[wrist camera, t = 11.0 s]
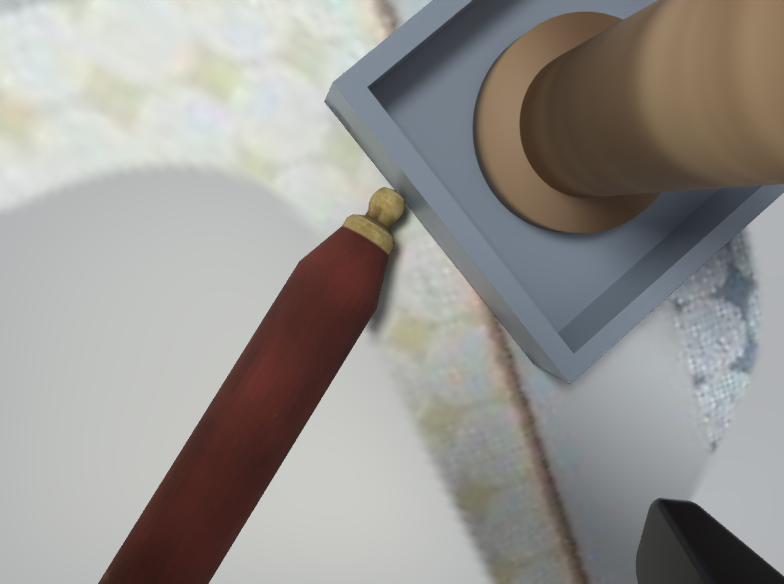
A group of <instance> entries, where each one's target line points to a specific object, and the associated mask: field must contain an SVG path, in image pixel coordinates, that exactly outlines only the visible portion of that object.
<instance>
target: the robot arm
mask: <svg viewBox="0 0 784 584" xmlns="http://www.w3.org/2000/svg"><path fill="white" fill-rule="evenodd" d="M636 574H637V581H638V584H784V576H783V575H782V574H780V573H779V572H778V571H777V570H776V569H774V568H773V567H772V566H771V565H770V564H768V563H767V562H766V561H765V560H763V559H762V558H761V557H760V556H759V555H758V554H756V553H755V552H754V551H753V550H752V549H750V548H749V547H748V546H747V545H746V544H744V543H743V542H742V541H741V540H739V539H738V538H737V537H736V536H735V535H733V534H732V533H731V532H730V531H729V530H727V529H726V528H725V527H724V526H723V525H722V524H720V523H719V522H718V521H717V520H715V519H714V518H713V517H712V516H711V515H710V514H708V513H707V512H706V511H705V510H704V509H702V508H701V507H700V506H698V505H697V504H695V503H693V502H691V501H685V500H674V499H664V498H659V499H656V500H654V501H653V502H652V504H651V506H650V508H649V511H648V514H647V518H646V522H645V525H644V529H643V533H642V536H641V540H640V544H639V547H638V551H637V556H636Z"/></svg>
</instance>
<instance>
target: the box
mask: <svg viewBox="0 0 784 584" xmlns="http://www.w3.org/2000/svg"><path fill="white" fill-rule="evenodd" d="M656 1H657V0H433V1H431V2H430V3H429V4H428V5H426V6H425V7H424V8H423V9H422V10H420V11H419V12H418V13H417V14H415V15H414V16H413V17H412V18H411V19H409V20H408V21H407V22H406V23H405V24H403V25H402V26H401V27H400V28H398V29H397V30H396V31H395V32H394V33H392V34H391V35H390V36H389V37H387V38H386V39H385V40H384V41H383V42H381V43H380V44H379V45H378V46H377V47H375V48H374V49H373V50H372V51H370V52H369V53H368V54H367V55H366V56H364V57H363V58H362V59H361V60H360V61H358V62H357V63H356V64H355V65H353V66H352V67H351V68H350V69H349V70H347V71H346V72H345V73H344V74H342V75H341V76H340V77H339V78H338V79H336V80H335V81H334V82H333V83H332V85H331V88H330V90H329V92H328V94H327V97H326V99H325V103H326V104H327V105H328V106H329V108H330V109H331V110H332V112H333V113H334V114H335V115H336V117H337V118H338V119H339V120H340V122H341V123H342V124H343V125H344V127H345V128H346V129H347V130H348V132H349V133H350V134H351V135H352V137H353V138H354V139H355V140H356V142H357V143H358V144H359V145H360V147H361V148H362V149H363V150H364V152H365V153H366V154H367V155H368V157H369V158H370V159H371V160H372V162H373V163H374V164H375V165H376V167H377V168H378V169H379V171H380V172H381V173H382V174H383V176H384V177H385V178H386V179H387V181H388V182H389V183H390V184H391V186H392V187H393V188H394V189H395V191H397V192H398V193H399V194H400V195H401V197H402V198H403V199H404V200H405V203H406V204H407V206H408V207H409V208H410V209H411V211H412V212H413V213H414V214H415V216H416V217H417V218H418V219H419V221H420V222H421V223H422V224H423V226H424V227H425V228H426V230H427V231H428V232H429V233H430V235H431V236H432V237H433V238H434V240H435V241H436V242H437V243H438V245H439V246H440V247H441V248H442V250H443V251H444V252H445V253H446V255H447V256H448V257H449V258H450V260H451V261H452V262H453V263H454V265H455V266H456V267H457V268H458V270H459V271H460V272H461V273H462V275H463V276H464V277H465V278H466V280H467V281H468V282H469V284H470V285H471V286H472V287H473V289H474V290H475V291H476V292H477V294H478V295H479V296H480V297H481V299H482V300H483V301H484V302H485V304H486V305H487V306H488V307H489V309H490V310H491V311H492V312H493V314H494V315H495V316H496V317H497V319H498V320H499V321H500V322H501V324H502V325H503V326H504V327H505V329H506V330H507V331H508V332H509V334H510V335H511V336H512V337H513V339H514V340H515V341H516V343H517V344H518V345H519V346H520V348H521V349H522V350H523V351H524V353H525V354H526V355H527V356H528V358H529V359H530V360H531V361H532V363H533V364H535V365H537V366H539V367H540V368H542V369H544V370H546V371H548V372H549V373H551V374H553V375H555V376H557V377H558V378H560V379H562V380H564V381H566V382H567V383H569V384H571V383H572V382H573V381H574V380H575V379H576V378H577V377H578V376H580V375H581V374H582V373H583V372H584V371H585V370H586V369H587V368H589V367H590V366H591V365H592V364H593V363H594V362H595V361H596V360H597V359H599V358H600V357H601V356H602V355H603V354H604V353H605V352H606V351H607V350H609V349H610V348H611V347H612V346H613V345H614V344H615V343H616V342H618V341H619V340H620V339H621V338H622V337H623V336H624V335H625V334H626V333H628V332H629V331H630V330H631V329H632V328H633V327H634V326H635V325H636V324H638V323H639V322H640V321H641V320H642V319H643V318H644V317H645V316H647V315H648V314H649V313H650V312H651V311H652V310H653V309H654V308H655V307H657V306H658V305H659V304H660V303H661V302H662V301H663V300H664V299H665V298H667V297H668V296H669V295H670V294H671V293H672V292H673V291H674V290H675V289H677V288H678V287H679V286H680V285H681V284H682V283H683V282H684V281H686V280H687V279H688V278H689V277H690V276H691V275H692V274H693V273H694V272H696V271H697V270H698V269H699V268H700V267H701V266H702V265H703V264H704V263H706V262H707V261H708V260H709V259H710V258H711V257H712V256H713V255H715V254H716V253H717V252H718V251H719V250H720V249H721V248H722V247H723V246H725V245H726V244H727V243H728V242H729V241H730V240H731V239H732V238H733V237H735V236H736V235H737V234H738V233H739V232H740V231H741V230H742V229H744V228H745V227H746V226H747V225H748V224H749V223H750V222H751V221H752V220H754V219H755V218H756V217H757V216H758V215H759V214H760V213H761V212H762V211H763V210H765V209H766V208H767V207H768V206H769V205H770V204H771V203H773V202H774V200H776V199H777V198H778V197H779V196H780V195H781V194H783V193H784V184H777V185H762V186H748V187H733V188H719V189H704V190H689V191H675V192H661V193H660V195H659V196H658V197H657V198H656V199H655V201H654V202H653V203H652V204H651V205H650V206H649V207H647V208H646V209H645V210H644V211H643V212H642V213H640V214H639V215H638V216H636V217H635V218H633V219H632V220H630V221H628V222H626V223H624V224H622V225H620V226H617V227H615V228H612V229H609V230H605V231H601V232H595V233H565V232H554V231H549V230H544V229H541V228H538V227H535V226H533V225H530V224H528V223H527V222H525V221H523V220H521V219H519V218H518V217H517V216H515V215H514V214H512V213H511V212H510V211H509V210H508V209H507V208H506V207H505V206H503V205H502V204H501V203H500V201H499V200H498V199H497V198H496V196H495V195H494V194H493V193H492V191H491V190H490V188H489V186H488V185H487V183H486V181H485V179H484V177H483V175H482V173H481V170H480V168H479V165H478V161H477V158H476V155H475V149H474V143H473V113H474V108H475V103H476V98H477V95H478V92H479V89H480V86H481V84H482V82H483V80H484V78H485V76H486V74H487V72H488V70H489V69H490V67H491V66H492V64H493V63H494V61H495V60H496V59H497V58H498V57H499V55H500V54H501V53H502V52H503V51H504V50H505V49H506V48H507V47H508V46H509V45H511V44H512V43H513V42H514V41H515V40H517V39H518V38H519V37H521V36H522V35H524V34H525V33H526V32H528V31H529V30H531V29H532V28H534V27H535V26H537V25H538V24H540V23H542V22H544V21H546V20H548V19H550V18H553V17H556V16H559V15H562V14H566V13H572V12H598V13H605V14H608V15H612V16H615V17H618V18H620V19H623V20H624V19H626V18H627V17H629V16H631V15H633V14H634V13H636V12H638V11H640V10H642V9H643V8H645V7H647V6H649V5H650V4H652V3H654V2H656Z"/></svg>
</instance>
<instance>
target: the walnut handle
mask: <svg viewBox="0 0 784 584" xmlns="http://www.w3.org/2000/svg"><path fill="white" fill-rule="evenodd" d="M473 143H474V149H475V155H476V158H477V161H478V165H479V168H480V170H481V173H482V175H483V177H484V179H485V181H486V183H487V185H488V186H489V188H490V190H491V191H492V193H493V194H494V195H495V196H496V198H497V199H498V200H499V201H500V203H501V204H502V205H503V206H505V207H506V208H507V209H508V210H509V211H510V212H511V213H512V214H514V215H515V216H517V217H518V218H519V219H521V220H523V221H525V222H527V223H528V224H530V225H533V226H535V227H538V228H541V229H544V230H549V231H554V232H565V233H595V232H601V231H605V230H609V229H612V228H615V227H617V226H620V225H622V224H624V223H626V222H628V221H630V220H632V219H633V218H635V217H636V216H638V215H639V214H640V213H642V212H643V211H644V210H645V209H646V208H647V207H649V206H650V205H651V204H652V203H653V202H654V201H655V199H656V198H657V197H658V196H659V195H660V193H661V192H675V191H689V190H704V189H719V188H733V187H748V186H762V185H777V184H784V0H657V1H656V2H654V3H652V4H650V5H649V6H647V7H645V8H643V9H642V10H640V11H638V12H636V13H634V14H633V15H631V16H629V17H627V18H626V19H624V20H623V19H620V18H618V17H615V16H612V15H608V14H605V13H598V12H572V13H566V14H562V15H559V16H556V17H553V18H550V19H548V20H546V21H544V22H542V23H540V24H538V25H537V26H535V27H534V28H532V29H531V30H529V31H528V32H526V33H525V34H524V35H522V36H521V37H519V38H518V39H517V40H515V41H514V42H513V43H512V44H511V45H509V46H508V47H507V48H506V49H505V50H504V51H503V52H502V53H501V54H500V55H499V57H498V58H497V59H496V60H495V61H494V63H493V64H492V66H491V67H490V69H489V70H488V72H487V74H486V76H485V78H484V80H483V82H482V84H481V86H480V89H479V92H478V95H477V98H476V103H475V108H474V113H473Z"/></svg>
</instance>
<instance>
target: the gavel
mask: <svg viewBox="0 0 784 584" xmlns="http://www.w3.org/2000/svg"><path fill="white" fill-rule="evenodd" d="M404 209H405V200H404V199H403V198H402V197H401V195H400V194H399V193H398V192H397V191H395V190H392V189H389V188H385V187H383V188H381V189H379V190H377V191H376V192H375V193H374V194H373V196H372V197H371V199H370V202H369V210H368V211H367V213H366V215H355V214H354V215H351V216H349V217H347V219H346V221H345V222H344V224H343V225H342V227H340V228H339V229H338V230H337V231H336V232H334V233H333V234H332V235H331V236H330V237H328V238H327V239H326V240H325V241H323V242H322V243H321V244H320V245H319V246H317V247H316V248H315V249H314V250H313V251H312V252H310V253H309V254H308V255H307V256H305V257H304V258H303V259H302V260H301V261H299V263H298V265H297V266H296V268H295V269H294V271H293V273H292V274H291V276H290V277H289V279H288V281H287V282H286V284H285V285H284V287H283V289H282V290H281V292H280V293H279V295H278V297H277V298H276V300H275V301H274V303H273V305H272V306H271V308H270V309H269V311H268V313H267V314H266V316H265V317H264V319H263V321H262V322H261V324H260V325H259V327H258V329H257V330H256V332H255V333H254V335H253V337H252V338H251V340H250V342H249V343H248V345H247V346H246V348H245V349H244V351H243V353H242V354H241V356H240V358H239V359H238V361H237V362H236V364H235V365H234V367H233V369H232V370H231V372H230V374H229V375H228V377H227V378H226V380H225V381H224V383H223V385H222V386H221V388H220V389H219V391H218V393H217V394H216V396H215V397H214V399H213V401H212V402H211V404H210V405H209V407H208V409H207V410H206V412H205V413H204V415H203V417H202V418H201V420H200V421H199V423H198V425H197V426H196V428H195V429H194V431H193V433H192V434H191V436H190V437H189V439H188V441H187V442H186V444H185V446H184V447H183V449H182V450H181V452H180V454H179V455H178V457H177V458H176V460H175V461H174V463H173V465H172V466H171V468H170V470H169V471H168V473H167V474H166V476H165V478H164V480H163V481H162V482H161V484H160V486H159V487H158V489H157V491H156V492H155V494H154V495H153V497H152V498H151V500H150V502H149V503H148V505H147V506H146V508H145V510H144V511H143V513H142V515H141V516H140V518H139V519H138V521H137V522H136V524H135V526H134V528H133V529H132V530H131V532H130V534H129V535H128V537H127V538H126V540H125V542H124V543H123V545H122V546H121V548H120V550H119V551H118V553H117V554H116V556H115V558H114V559H113V561H112V563H111V564H110V566H109V567H108V569H107V570H106V572H105V574H104V575H103V577H102V578H101V580H100V582H99V583H98V584H209V582H210V580H211V579H212V577H213V575H214V574H215V572H216V570H217V569H218V567H219V565H220V564H221V562H222V560H223V559H224V557H225V555H226V554H227V552H228V551H229V549H230V547H231V546H232V544H233V542H234V541H235V539H236V538H237V536H238V534H239V533H240V531H241V529H242V528H243V526H244V524H245V523H246V521H247V519H248V518H249V516H250V515H251V513H252V511H253V510H254V508H255V506H256V505H257V503H258V502H259V500H260V498H261V497H262V495H263V493H264V491H265V490H266V488H267V487H268V485H269V483H270V482H271V480H272V479H273V477H274V475H275V474H276V472H277V470H278V469H279V467H280V466H281V464H282V462H283V461H284V459H285V457H286V456H287V454H288V452H289V451H290V449H291V448H292V446H293V444H294V443H295V441H296V439H297V438H298V436H299V434H300V433H301V431H302V430H303V428H304V426H305V425H306V423H307V421H308V420H309V418H310V416H311V415H312V413H313V412H314V410H315V408H316V407H317V405H318V403H319V401H320V400H321V398H322V397H323V395H324V393H325V392H326V390H327V389H328V387H329V385H330V384H331V382H332V380H333V379H334V377H335V375H336V374H337V372H338V370H339V369H340V367H341V366H342V364H343V362H344V361H345V359H346V357H347V356H348V354H349V353H350V351H351V349H352V348H353V346H354V344H355V343H356V341H357V339H358V338H359V336H360V334H361V333H362V331H363V330H364V328H365V326H366V325H367V323H368V321H369V320H370V318H371V316H372V315H373V313H374V312H375V310H376V308H377V303H378V299H379V295H380V291H381V286H382V282H383V278H384V273H385V269H386V265H387V260H388V256H389V254H390V253H391V251H392V249H393V248H394V239H393V237H392V236H391V234H390V232H389V231H388V229H389V228H390V226H391V224H393V223H394V222H396V221H397V220H398V219H399V218H400V217H401V216H402V214H403V212H404Z"/></svg>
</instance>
